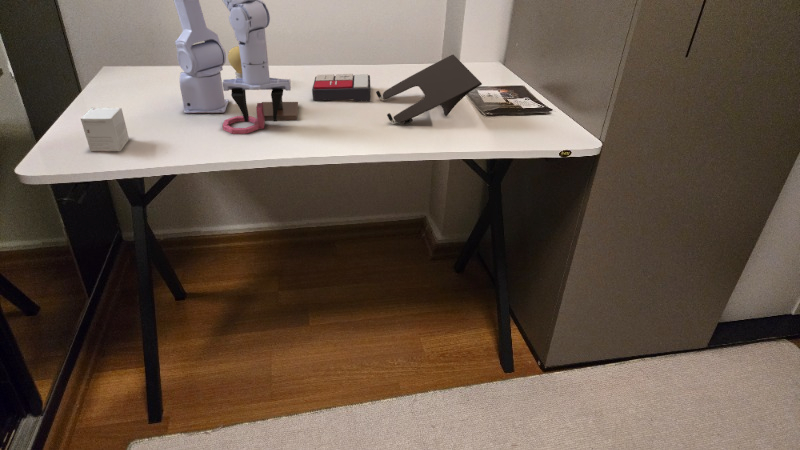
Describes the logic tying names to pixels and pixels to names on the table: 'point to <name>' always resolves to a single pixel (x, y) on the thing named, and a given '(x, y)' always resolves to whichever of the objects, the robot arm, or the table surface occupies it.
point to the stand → (281, 110)
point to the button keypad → (342, 87)
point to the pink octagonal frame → (258, 122)
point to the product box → (105, 129)
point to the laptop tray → (434, 88)
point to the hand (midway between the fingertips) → (261, 119)
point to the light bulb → (235, 61)
